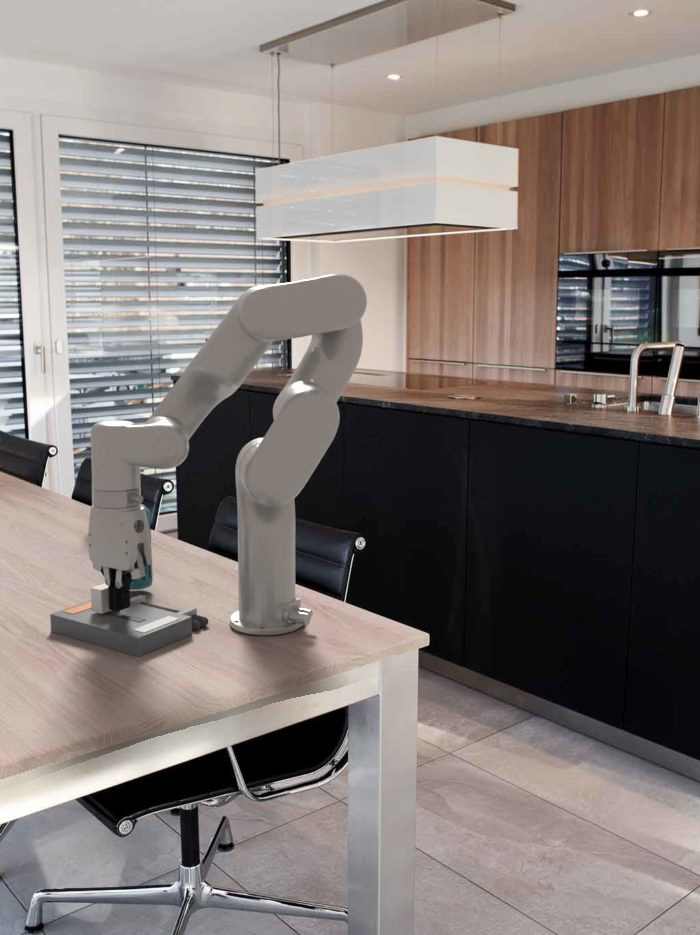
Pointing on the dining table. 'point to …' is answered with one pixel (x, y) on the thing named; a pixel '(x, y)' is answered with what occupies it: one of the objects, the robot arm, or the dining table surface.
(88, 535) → the robot arm
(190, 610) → the dressed cords
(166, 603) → the dining table surface
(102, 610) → the block
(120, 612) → the panel
